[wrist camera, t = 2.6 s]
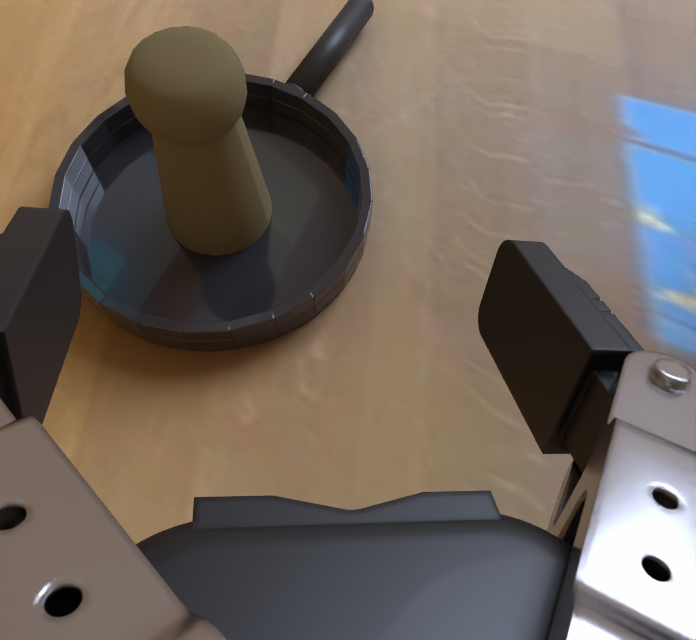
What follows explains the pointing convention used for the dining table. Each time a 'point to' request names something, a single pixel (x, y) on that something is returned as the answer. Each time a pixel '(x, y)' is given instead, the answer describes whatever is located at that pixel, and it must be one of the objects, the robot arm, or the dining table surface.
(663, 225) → the dining table surface
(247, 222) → the olive game pawn
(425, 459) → the dining table surface
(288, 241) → the pan
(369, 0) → the pan handle
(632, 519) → the robot arm
